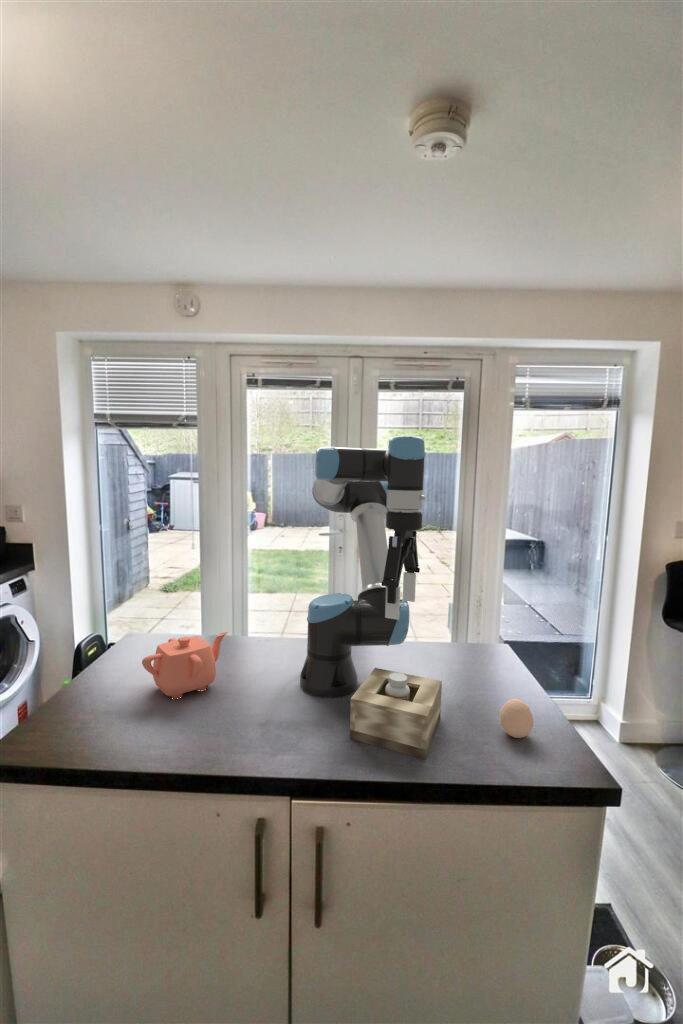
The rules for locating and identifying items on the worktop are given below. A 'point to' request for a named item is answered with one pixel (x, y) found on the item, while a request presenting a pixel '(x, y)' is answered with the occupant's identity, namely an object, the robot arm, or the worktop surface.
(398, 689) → the supplement bottle
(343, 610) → the robot arm
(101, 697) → the worktop surface
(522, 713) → the egg
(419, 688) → the drop box
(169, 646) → the teapot
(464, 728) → the worktop surface
